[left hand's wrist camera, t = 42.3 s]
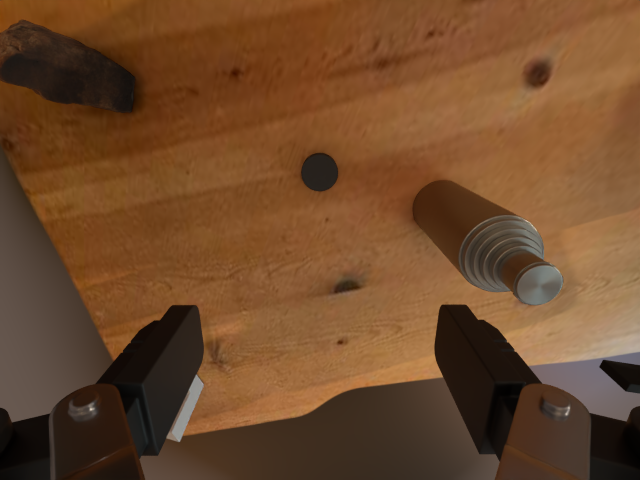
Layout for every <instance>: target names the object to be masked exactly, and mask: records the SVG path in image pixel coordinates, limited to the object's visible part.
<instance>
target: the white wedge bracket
mask: <svg viewBox="0 0 640 480" xmlns="http://www.w3.org/2000/svg"><path fill="white" fill-rule="evenodd" d="M203 386H204V384H203V383H202V381H201V380H200V379H199V377H198V376H197V375H196V376H195V378H194V380H193V382H192V384H191V387H190V389H189V391H188V393H187V395H186V397H185V399H184V401H183V404H182V406H181V408H180V410H179V412H178V414H177V416H176V418H175V420H174V423H173V425H172V427H171V429H170V431H169V433H168V435H167V437H166V438H168V439H171V440H174V441H177V442H180V440H181V437H182V435H183V433H184V430H185V428H186V426H187V423H188V421H189V419H190V416H191V414H192V412H193V409H194V407H195V405H196V402H197V400H198V398H199V395H200V393H201V391H202V388H203Z"/></svg>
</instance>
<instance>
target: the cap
mask: <svg viewBox="0 0 640 480" xmlns="http://www.w3.org/2000/svg"><path fill="white" fill-rule="evenodd" d="M301 174H302V179H303V181H304V183H305V184H306V186H307V187H309V188H310V189H312V190H315V191H325V190H327V189H329V188H331V187H332V186H333V185H334V184H335V182H336V180H337V177H338V169H337V166H336V163H335V161H334V160H333V159H332V158H331V157H330V156H329V155H327V154H324V153H315V154H313V155H311V156H309V157H308V158H307V159H306V160H305V162H304V164H303V167H302V172H301Z"/></svg>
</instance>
